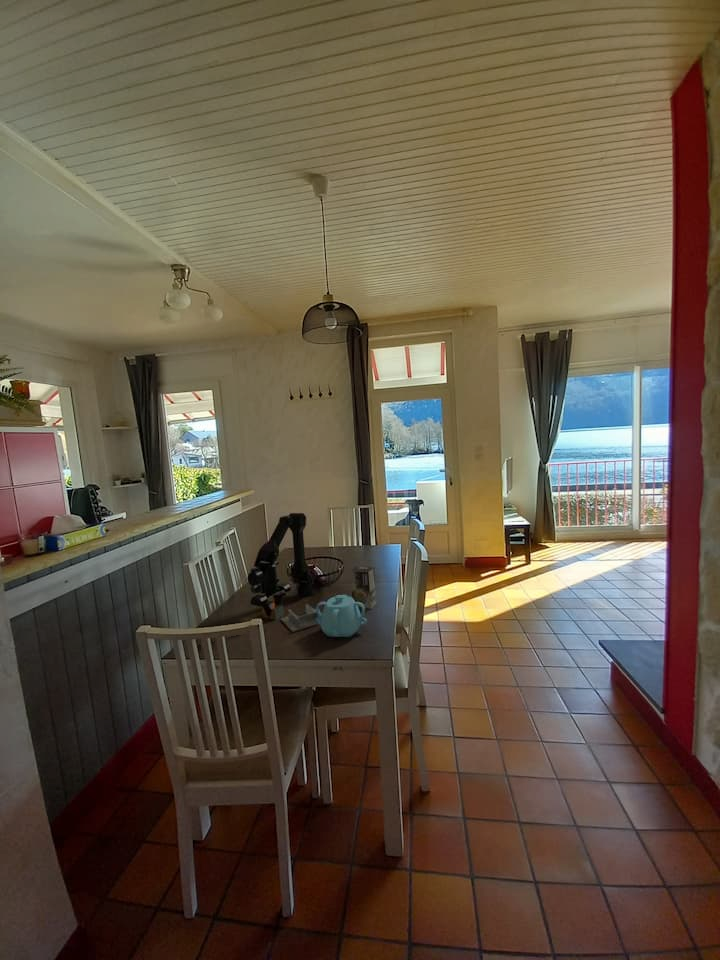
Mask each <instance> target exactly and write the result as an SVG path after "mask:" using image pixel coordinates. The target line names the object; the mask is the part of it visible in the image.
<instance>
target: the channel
mask: <svg viewBox="0 0 720 960" xmlns="http://www.w3.org/2000/svg"><path fill="white" fill-rule="evenodd" d="M305 610H306V611H305V612H306V613H305V614H301V615H297V614H295V613H294V611H293V610H292V609H290V608H289V609H287V616H284V617H280V619H281V622H283V624H284V625H285V626H286V627H287V628H288V629H289V630H290V631H291V632H292V633H295V632H297V631H300V630H304V629H307V628H310V627H314V626H317V625H318V624H317V623H316V619H317V618H318V617H319V616H318V614H317V611H316V608H313V607H312V606H311V605H310V604H306V605H305ZM321 615H322V613H321ZM318 620H319V621H320V619H318Z"/></svg>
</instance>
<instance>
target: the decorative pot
mask: <svg viewBox="0 0 720 960" xmlns="http://www.w3.org/2000/svg"><path fill="white" fill-rule="evenodd" d="M357 605H359V606H361V611H360V609H359V608H360V607H358V606H357ZM320 606H324V607H323V610H322V612H321V610H320ZM315 609H316V611H317V614H318V616H319V617H318V618H317V619H316V623H317V625H320V628H321V631H322V632H323V634H324V635H326V636H327V637H330V638H333V637H334V638H343V637H344V638H350V637H352V636H353V635H354V634H355V633H357V631H358V630H359V629H360V626H365V625H366V624H368V623H367V622H368V620H367V618H365V617H364V615H365V611H366V608H365V607H364V605H363V604H362V603H360V602H355V601H354V599H353V598H352V596H349V595H347V594H338V595H335V596H333V597H330V598H329V599H328V600H327V601H320V602H318V603H317V604H316V607H315ZM321 614H322V615H321ZM318 619H320V621H319V620H318Z"/></svg>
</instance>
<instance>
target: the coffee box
mask: <svg viewBox="0 0 720 960" xmlns="http://www.w3.org/2000/svg"><path fill="white" fill-rule="evenodd" d="M349 575H350V576H349V577H350V588H351V589H350V591H351V597H352V598H353V599H354V601H355V602H360V603H362V604H363V605H364V607H365V609H371V610H372V609H373V608H375V606H376V605H377V591H376V577H375V567H368V566H354V567H353V568H352V569H351V570H350V571H349ZM357 606H358V608H361V606H359V605H357ZM361 609H362V608H361Z"/></svg>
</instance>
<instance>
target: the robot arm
mask: <svg viewBox="0 0 720 960" xmlns="http://www.w3.org/2000/svg"><path fill="white" fill-rule="evenodd" d="M277 523H278V524H277V525H276V527H275V528H274V530H273V533H272V534H271V536H270V537H269V539H268V541H267V542H265V543H264V544H263V545H262V546H261V547H260V548H259V550H258V552H257V555H256V558H255V562H254V565H253V568H251V569H250V572H248V574H247V578H246V580H247V582H248V584H249V585H250V592H251V594H254V595H255V596H251V598H250V600H249V601H250V606H251V605H252V606H255V607H263V609H264V610H265V612H266V614H267V616H268V617H270V613H271V604H272V603H273V602H272V601H270V598H273V600H274V603H276V604H281V605H283V604H282V603H283V601H284V599H285V596H286V595H287V593H290V592H291V590H292V589H291V585H290V584H289V583H284V582H280V578H278V576H277V575H278V574H277V566H278V565H279V564H280V563H279V562H278V560H277V559H278V558H279V554H280V545H281V544H282V541H283V540H284V538H285V536H286V534H287V531H288V530H289V529H290V531H291V533H292V546H293V560H294V561H293V562H294V563H293V564H292V566H291V567H290V576H291V579H292V581H293V583H294V584H296V586H295V590H296V591H295V592H296V595H297V596H298V597H299V598H301V599H302V598H306V597H310V596H313V595H314V592H313V588H312V587H313V586H312V584H313V583H314V581H315V576H314V574H312V572H311V571H310V567H309V565H308V563H307V561H306V555H305V541H304V538H305V537H304V531H305V528H306V526H307V516H306V515H305V513H303V512H289V514H288V515H284V516H283V515H282V516H280V517H279V519H278V522H277ZM279 582H280V583H279Z"/></svg>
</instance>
